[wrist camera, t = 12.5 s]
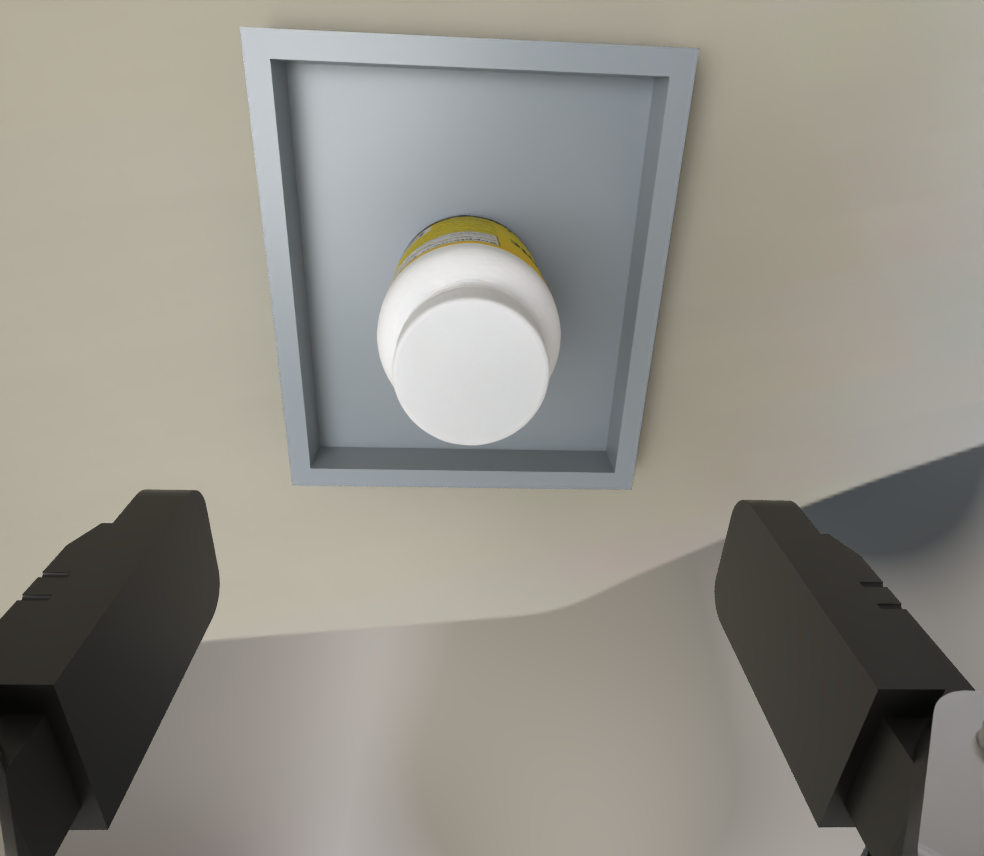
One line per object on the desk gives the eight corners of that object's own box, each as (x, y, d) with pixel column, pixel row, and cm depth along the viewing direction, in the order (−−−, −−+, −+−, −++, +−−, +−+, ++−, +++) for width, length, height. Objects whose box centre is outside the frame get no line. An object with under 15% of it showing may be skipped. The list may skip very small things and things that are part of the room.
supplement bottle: (544, 341, 26) (583, 459, 17) (411, 359, 26) (383, 484, 18) (531, 201, 24) (569, 255, 15) (384, 221, 24) (337, 286, 15)
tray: (263, 35, 22) (240, 26, 19) (675, 54, 22) (699, 48, 20) (305, 456, 29) (292, 485, 26) (618, 460, 29) (631, 489, 27)
